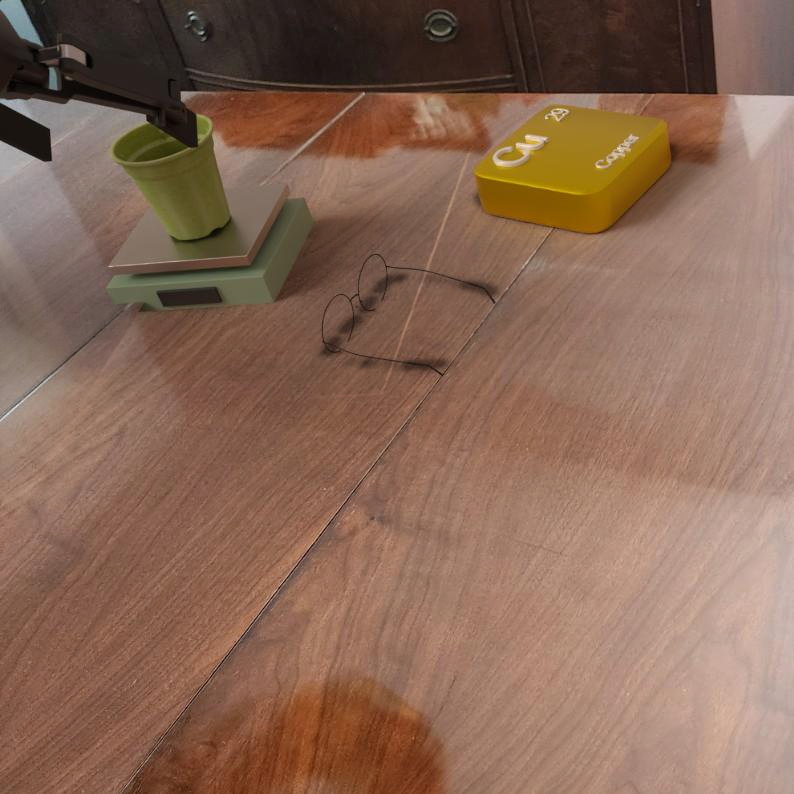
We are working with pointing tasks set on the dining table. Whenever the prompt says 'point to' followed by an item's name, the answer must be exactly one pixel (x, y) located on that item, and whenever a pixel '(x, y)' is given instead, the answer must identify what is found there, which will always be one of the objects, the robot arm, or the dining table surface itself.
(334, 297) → the eyeglasses
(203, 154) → the plant pot
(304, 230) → the scale
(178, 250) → the weighing pan
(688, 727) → the dining table surface
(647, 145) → the element tile
